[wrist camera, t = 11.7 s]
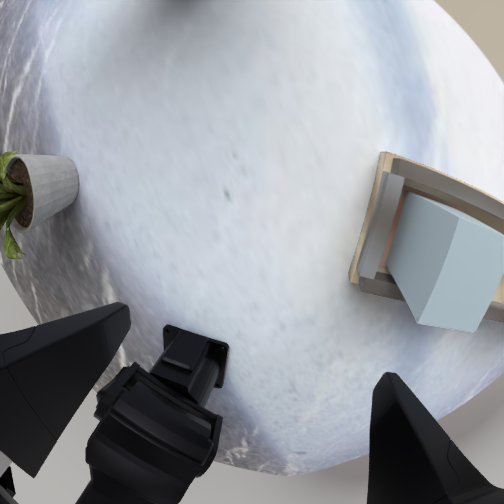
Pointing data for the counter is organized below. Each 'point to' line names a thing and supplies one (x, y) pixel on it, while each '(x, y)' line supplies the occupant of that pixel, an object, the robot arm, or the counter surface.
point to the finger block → (445, 263)
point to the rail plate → (388, 212)
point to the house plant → (33, 192)
